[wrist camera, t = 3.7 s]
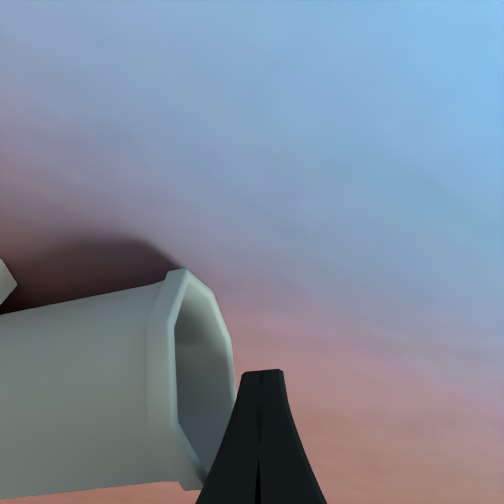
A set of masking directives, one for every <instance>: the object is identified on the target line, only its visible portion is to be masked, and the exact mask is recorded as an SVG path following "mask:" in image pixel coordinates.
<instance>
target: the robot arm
mask: <svg viewBox="0 0 504 504" xmlns="http://www.w3.org/2000/svg"><path fill="white" fill-rule="evenodd" d="M195 504H327V502H326V500H325V498H324V496H323V494H322V491H321V489H320V487H319V485H318V482H317V480H316V478H315V475H314V473H313V471H312V468H311V466H310V464H309V461H308V459H307V456H306V454H305V451H304V448H303V446H302V443H301V440H300V437H299V435H298V432H297V429H296V426H295V423H294V420H293V417H292V414H291V410H290V407H289V403H288V398H287V392H286V386H285V380H284V374H283V371H281V370H280V369H272V370H261V371H249V372H245V373H243V374H242V377H241V382H240V386H239V390H238V394H237V397H236V401H235V404H234V407H233V411H232V414H231V417H230V420H229V423H228V426H227V428H226V431H225V434H224V436H223V439H222V442H221V445H220V447H219V450H218V453H217V455H216V458H215V460H214V462H213V465H212V467H211V469H210V472H209V474H208V476H207V479H206V481H205V483H204V486H203V488H202V490H201V493H200V495H199V497H198V499H197V501H196V503H195Z"/></svg>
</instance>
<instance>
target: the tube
mask: <svg viewBox="0 0 504 504" xmlns="http://www.w3.org/2000/svg"><path fill="white" fill-rule="evenodd" d="M236 397H237V392H236V382H235V372H234V362H233V352H232V343H231V337H230V335H229V332H228V330H227V327H226V325H225V322H224V319H223V317H222V314H221V312H220V309H219V306H218V304H217V301H216V299H215V296H214V293H213V291H212V290H211V289H210V288H208V287H207V286H206V285H205V284H204V283H202V282H201V281H200V280H199V279H198V278H197V277H195V276H194V275H193V274H192V273H191V272H189V271H188V270H187V269H185V268H182V269H177V270H173V271H169V272H168V273H167V275H166V278H165V280H164V281H161V282H158V283H155V284H151V285H146V286H141V287H136V288H132V289H127V290H122V291H117V292H112V293H107V294H102V295H97V296H92V297H87V298H82V299H77V300H72V301H67V302H62V303H57V304H52V305H47V306H42V307H37V308H32V309H27V310H22V311H17V312H12V313H7V314H2V315H0V499H9V498H18V497H27V496H36V495H45V494H54V493H63V492H72V491H81V490H89V489H98V488H107V487H116V486H125V485H134V484H143V483H152V482H161V481H178V482H179V483H180V485H181V486H182V488H183V489H184V491H188V490H201V489H202V488H203V486H204V483H205V481H206V479H207V476H208V474H209V472H210V469H211V467H212V465H213V462H214V460H215V458H216V455H217V453H218V450H219V447H220V445H221V442H222V439H223V436H224V434H225V431H226V428H227V426H228V423H229V420H230V417H231V414H232V411H233V407H234V404H235V401H236Z"/></svg>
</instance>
